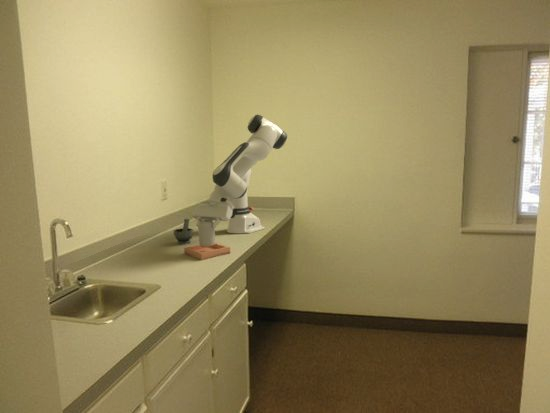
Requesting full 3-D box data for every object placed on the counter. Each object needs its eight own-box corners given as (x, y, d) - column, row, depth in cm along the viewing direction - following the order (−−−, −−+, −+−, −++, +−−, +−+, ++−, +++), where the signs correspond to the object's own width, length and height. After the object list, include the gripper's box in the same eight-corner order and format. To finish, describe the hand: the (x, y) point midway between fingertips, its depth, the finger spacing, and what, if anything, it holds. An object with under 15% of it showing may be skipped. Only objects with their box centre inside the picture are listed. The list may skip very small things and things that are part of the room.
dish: (212, 247, 207) (211, 241, 207) (230, 253, 196) (229, 246, 195) (184, 254, 197) (184, 247, 197) (202, 260, 186) (201, 253, 185)
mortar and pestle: (188, 245, 213) (186, 222, 211) (171, 245, 215) (169, 222, 214) (197, 240, 224) (195, 218, 222) (181, 239, 226) (179, 218, 224)
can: (218, 244, 198) (216, 219, 196) (210, 248, 191) (209, 222, 189) (204, 243, 200) (202, 218, 199) (196, 247, 194) (194, 221, 192)
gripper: (196, 198, 204) (184, 221, 197) (231, 199, 193) (219, 224, 187) (203, 205, 208) (191, 228, 201) (237, 207, 198) (226, 231, 191)
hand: (205, 226), depth 194 cm, fingers closed on can, 7 cm apart
